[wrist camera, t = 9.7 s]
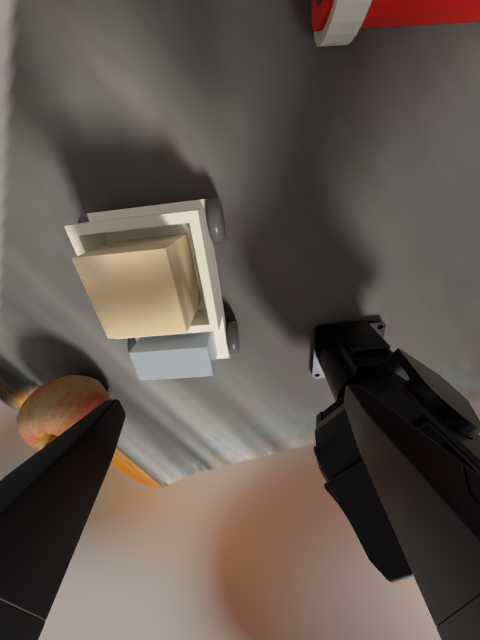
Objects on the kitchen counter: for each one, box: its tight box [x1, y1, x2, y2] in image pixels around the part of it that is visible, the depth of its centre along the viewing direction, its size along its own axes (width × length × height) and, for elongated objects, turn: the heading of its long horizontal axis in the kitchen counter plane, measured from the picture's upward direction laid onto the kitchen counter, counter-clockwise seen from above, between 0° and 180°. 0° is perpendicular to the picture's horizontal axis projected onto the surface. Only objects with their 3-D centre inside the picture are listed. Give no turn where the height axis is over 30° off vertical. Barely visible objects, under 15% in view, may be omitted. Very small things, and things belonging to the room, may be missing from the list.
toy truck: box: [64, 197, 239, 381], centre depth 18 cm, size 13×10×6 cm
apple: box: [17, 375, 110, 451], centre depth 24 cm, size 8×8×8 cm
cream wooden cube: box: [72, 233, 201, 339], centre depth 15 cm, size 5×5×5 cm
